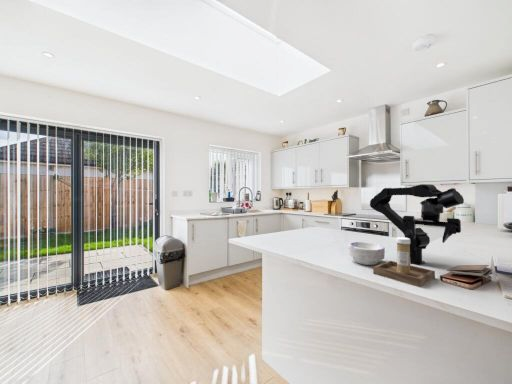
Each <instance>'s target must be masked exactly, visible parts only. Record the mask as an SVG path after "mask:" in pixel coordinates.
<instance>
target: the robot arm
mask: <svg viewBox="0 0 512 384" xmlns="http://www.w3.org/2000/svg"><path fill="white" fill-rule="evenodd" d="M393 196H413V197H417V198H426V199H424V200H422V201H421V202H420V203H419V204H420V205H421V208H420V209H421V210H420V211H421V215H420V218H421V219H417V218H415V215H404V216H401V215H400V214H398V213H397V212H396V211H395V210H394V209H392V207H391V204H390V202H391V200H392V197H393ZM462 204H464V197H463V195H462V194H461V193H460V192H459V191H458V190H457V189H456V188H455V187H454V188H453V187H452V188H449V189H447V190H445V191H441V190H439V189H438V188H437V187H436V186H435V184H432V183H431V184H430V183H429V184H428V183H427V184H426V183H423V184H422V183H420V184H418V185H417V184H416V185H413V186H410V187H409V186H408V187H384V188H383V189H381V191H379V192H378V193H377V194H376V195H375V196H373V197H372V198H371V199H370V201H369V207H370V208H371V209H373V210H375V211H376V212H378V213H380V214H382V215H383V216H385V218H387V220H389V221H390V222H391V223H392V224H393V225H394V226H395V228H397V229H398V230H399V231H400V232H402V233H403V235H404V237H405V238H409V239H410V264H414V265H419V266H420V265H422V264H425V263H426V261H425V260H423V250H426V249H427V247H428V246H429V244H430V242H431V240H430V239H431V238H430V237H429V235H428V234H429V233H427V232H425V231H424V230H423V229H422V228H421V227H417V226H416V225H421V226H428V227H437V228H444V231H443V235H442V243H443V244H444V243H446V241H447V240H448V239H449V238H450V237H451V236H452V235H456V234H459V233H461V232H462V225H461V222H462V221H461V219H460V218H451V217H447V218H446V221H440V220H441V219H440V218H441V214H444V208H445V209H449V208H452V207H456V206H460V205H462Z"/></svg>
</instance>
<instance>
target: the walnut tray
mask: <svg viewBox="0 0 512 384" xmlns="http://www.w3.org/2000/svg"><path fill="white" fill-rule="evenodd" d="M372 268H373V271H372V273H373V275H377V276H380V277H383V278H387V279H390V280H393V281H398V282H401V283H404V284H408V285H412V286H415V287H418V288H420V287H422V286H423V285H425V284H427V283H429V282H431V281H432V280H434V279H436V270H432V269H427V268H423V267H419V266H415V265H412V264H410V274H402V273H399V272H397V261H394V260H388V261H386V262H383V263H380V264H376V265H373V267H372Z"/></svg>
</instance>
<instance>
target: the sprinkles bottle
mask: <svg viewBox="0 0 512 384" xmlns="http://www.w3.org/2000/svg"><path fill="white" fill-rule="evenodd" d="M396 262H397V272H399V273H402V274H410V265H411V263H410V239H409V238H405V236H404V237H402V236H401V237H396Z"/></svg>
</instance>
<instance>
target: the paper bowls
mask: <svg viewBox="0 0 512 384" xmlns="http://www.w3.org/2000/svg"><path fill="white" fill-rule="evenodd" d="M347 246H348V250H347V253H348V255H349V256H350V257H352V259H353V261H354V262H355V263H358V264H360V265H364V266H377V265H379V262H380V261H382V260H384V259H385V253H386V251H385V247H384V246H383V245H381V244H378V243H374V242H369V241H368V242H367V241H352V242H349V243H348V245H347Z"/></svg>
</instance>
